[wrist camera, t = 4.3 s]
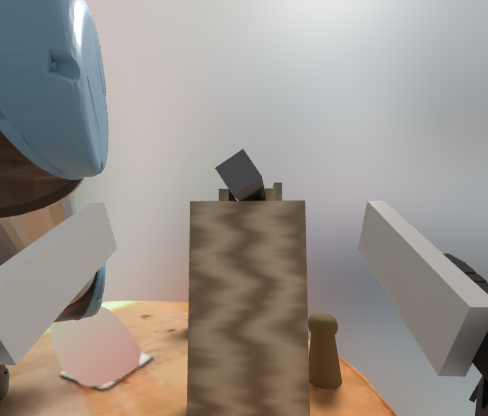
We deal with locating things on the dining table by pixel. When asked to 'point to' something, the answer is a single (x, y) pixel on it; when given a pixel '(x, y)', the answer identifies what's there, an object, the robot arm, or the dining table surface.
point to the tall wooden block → (248, 307)
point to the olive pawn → (323, 351)
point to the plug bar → (242, 177)
